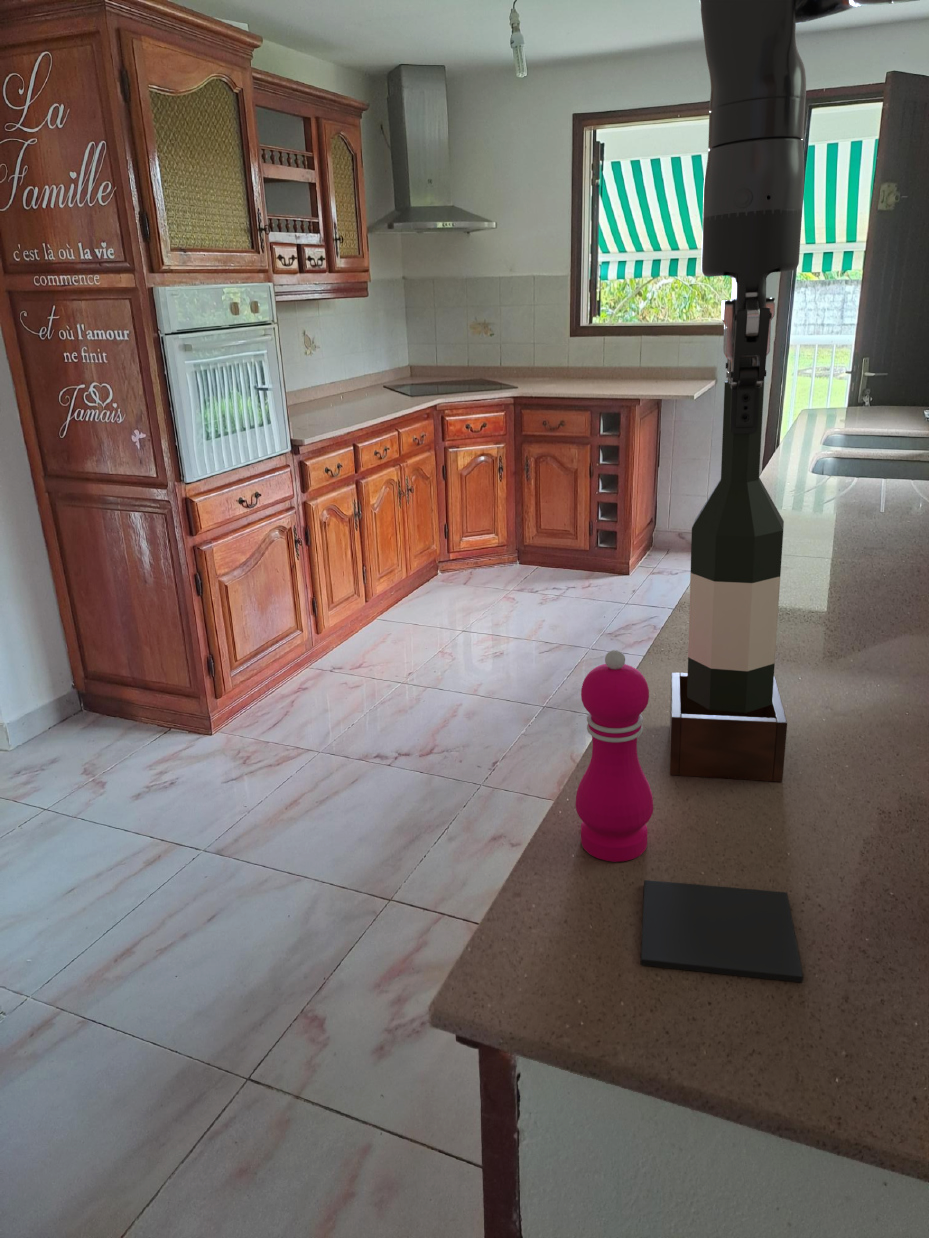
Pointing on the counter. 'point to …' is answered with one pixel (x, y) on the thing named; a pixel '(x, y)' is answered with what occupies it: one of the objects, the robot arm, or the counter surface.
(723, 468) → the wine bottle
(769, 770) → the box
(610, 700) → the pepper mill
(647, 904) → the rubber mat
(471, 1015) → the counter surface
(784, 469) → the counter surface
